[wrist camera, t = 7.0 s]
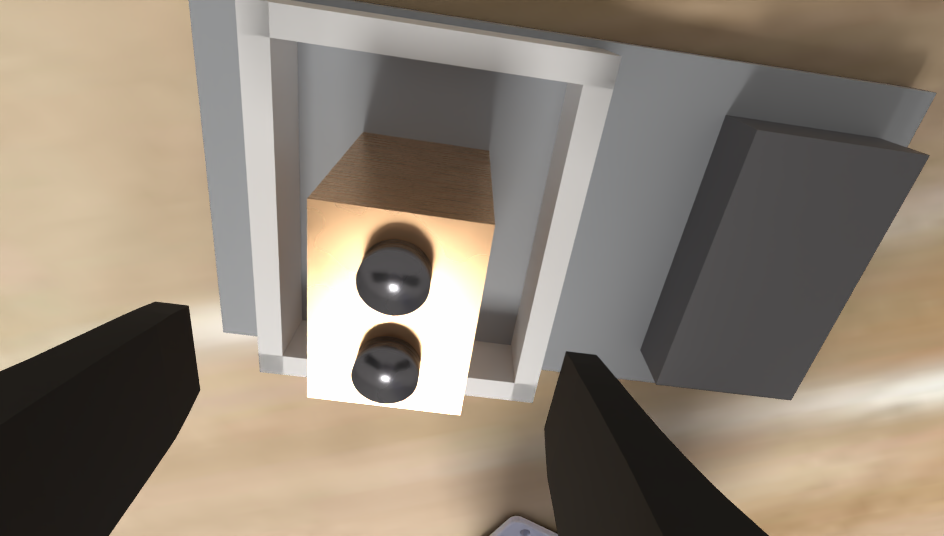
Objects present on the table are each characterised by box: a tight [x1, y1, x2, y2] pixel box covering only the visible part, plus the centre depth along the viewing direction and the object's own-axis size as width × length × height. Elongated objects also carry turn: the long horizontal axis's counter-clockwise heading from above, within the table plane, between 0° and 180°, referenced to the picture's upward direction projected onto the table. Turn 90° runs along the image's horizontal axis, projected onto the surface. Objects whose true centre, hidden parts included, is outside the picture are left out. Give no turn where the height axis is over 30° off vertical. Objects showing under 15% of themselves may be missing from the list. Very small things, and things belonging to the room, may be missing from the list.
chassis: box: [189, 0, 936, 403], centre depth 17 cm, size 22×12×3 cm, turn 82°
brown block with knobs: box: [307, 132, 495, 415], centre depth 15 cm, size 4×6×7 cm
